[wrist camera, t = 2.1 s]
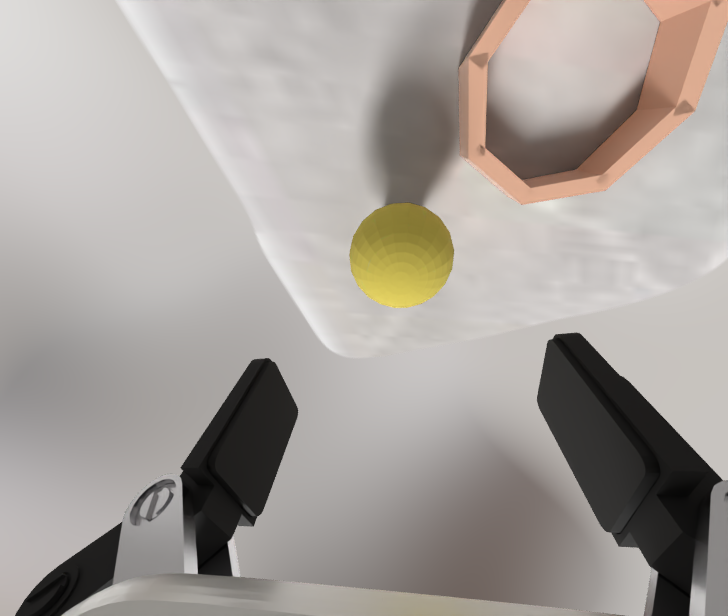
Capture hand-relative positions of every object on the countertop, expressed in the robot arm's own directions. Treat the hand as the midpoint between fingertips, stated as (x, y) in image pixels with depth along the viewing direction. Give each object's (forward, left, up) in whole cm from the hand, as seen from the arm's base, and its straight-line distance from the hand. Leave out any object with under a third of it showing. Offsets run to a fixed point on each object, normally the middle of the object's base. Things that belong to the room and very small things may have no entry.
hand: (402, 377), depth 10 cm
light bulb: (0, 0, -17) cm, 17 cm away
